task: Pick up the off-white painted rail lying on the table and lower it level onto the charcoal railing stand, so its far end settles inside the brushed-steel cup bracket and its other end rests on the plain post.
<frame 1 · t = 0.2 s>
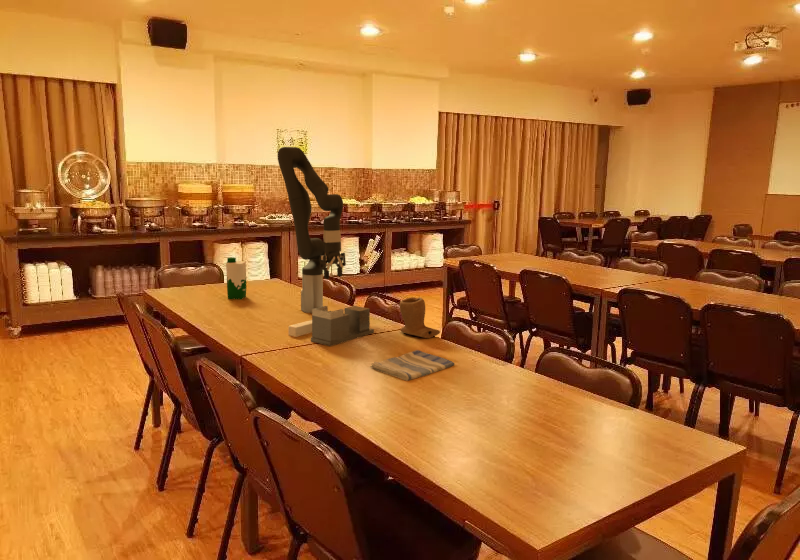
hand: (333, 277, 266), 17 cm above the table, tool pointing down, fingers open, 8 cm apart
dish towel: (412, 369, 202), on the table
rail: (310, 331, 244), on the table
milk carton: (237, 298, 303), on the table
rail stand: (343, 336, 236), on the table
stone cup: (416, 335, 241), on the table
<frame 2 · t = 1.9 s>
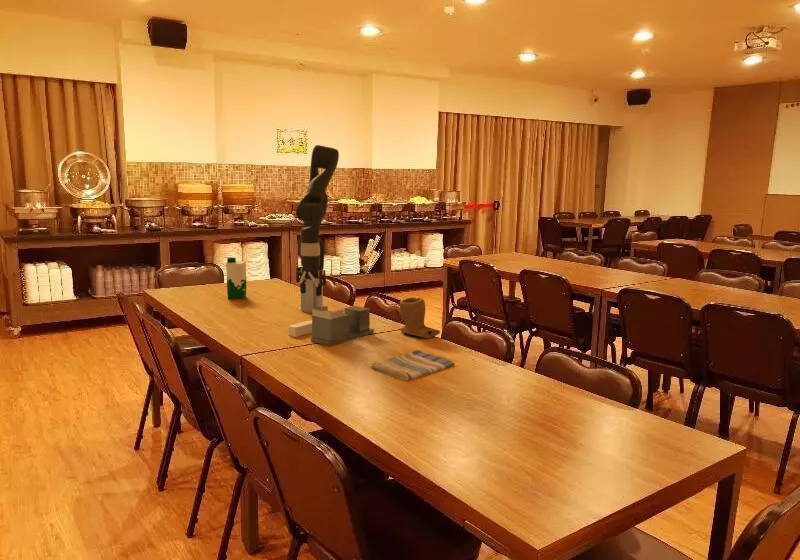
hand: (310, 294, 242), 15 cm above the table, tool pointing down, fingers open, 8 cm apart
nothing on the table moved.
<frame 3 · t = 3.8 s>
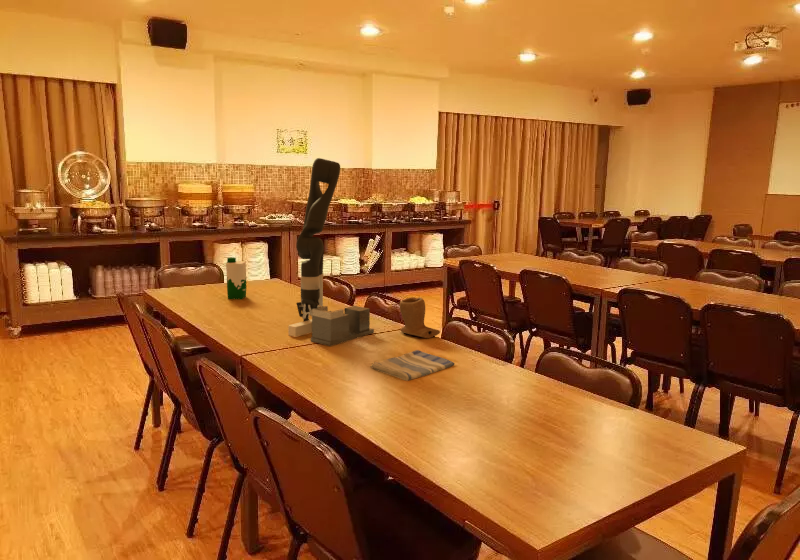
hand: (310, 328, 244), 1 cm above the table, tool pointing down, fingers closed on rail, 4 cm apart
rail: (310, 331, 244), on the table, touching gripper
everything else where it was.
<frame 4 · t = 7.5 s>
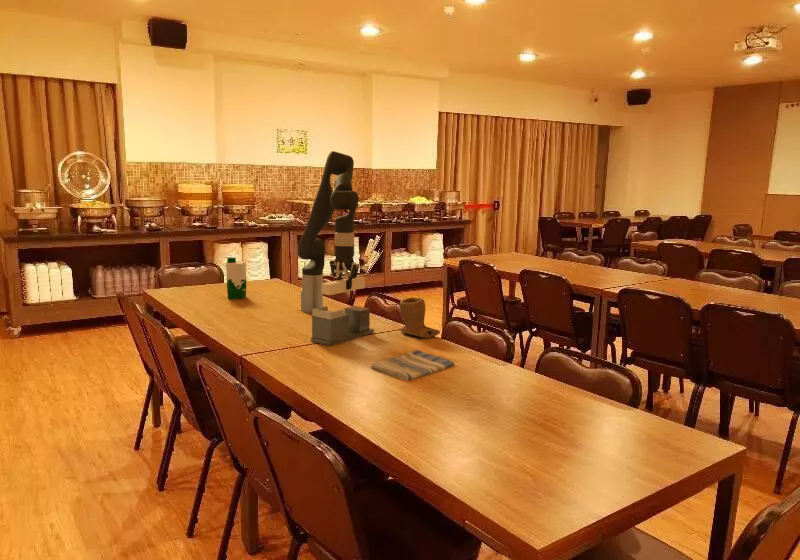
hand: (344, 288, 233), 19 cm above the table, tool pointing down, fingers closed on rail, 4 cm apart
rail: (343, 290, 233), point 18 cm above the table, touching gripper
everything else where it was.
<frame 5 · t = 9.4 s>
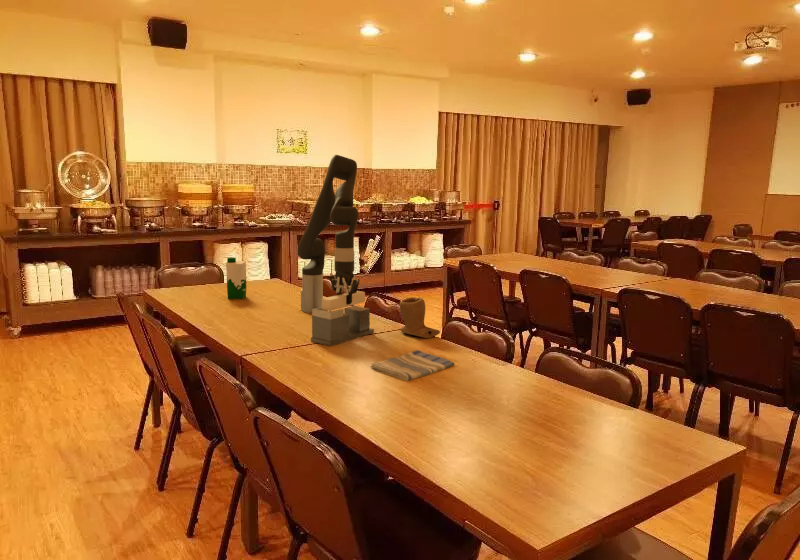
hand: (344, 303, 234), 13 cm above the table, tool pointing down, fingers closed on rail, 4 cm apart
rail: (344, 305, 234), point 12 cm above the table, touching gripper
everything else where it was.
when the fingers open (12 cm above the table, at t = 11.1 s): rail stays where it is, resting on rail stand.
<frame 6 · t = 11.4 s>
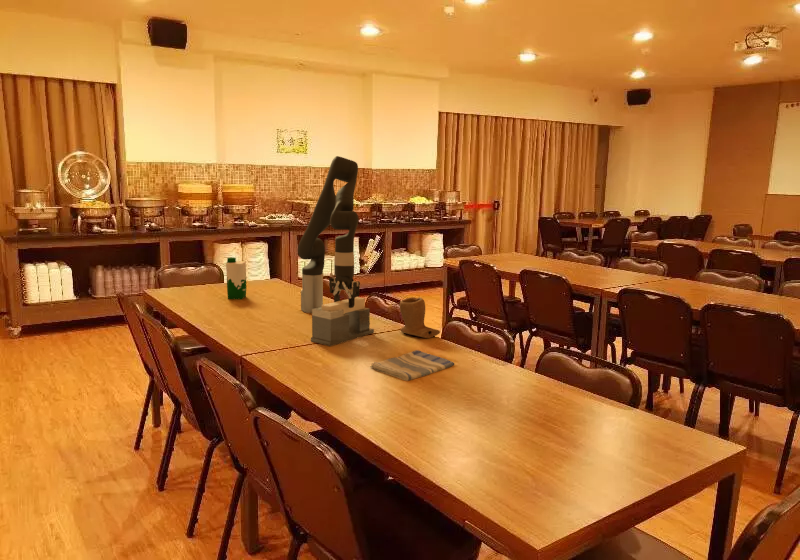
hand: (344, 306, 235), 12 cm above the table, tool pointing down, fingers open, 6 cm apart
rail: (343, 311, 235), point 10 cm above the table, touching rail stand
everything else where it was.
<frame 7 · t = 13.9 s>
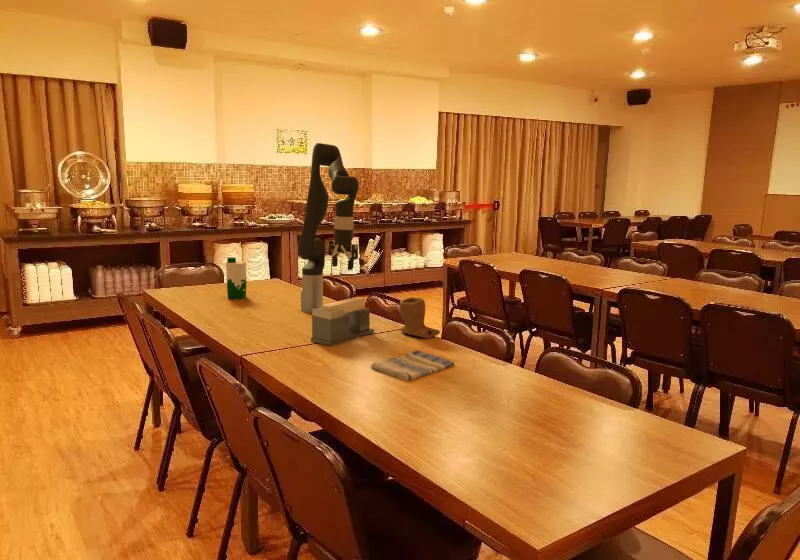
hand: (342, 268, 243), 25 cm above the table, tool pointing down, fingers open, 8 cm apart
nothing on the table moved.
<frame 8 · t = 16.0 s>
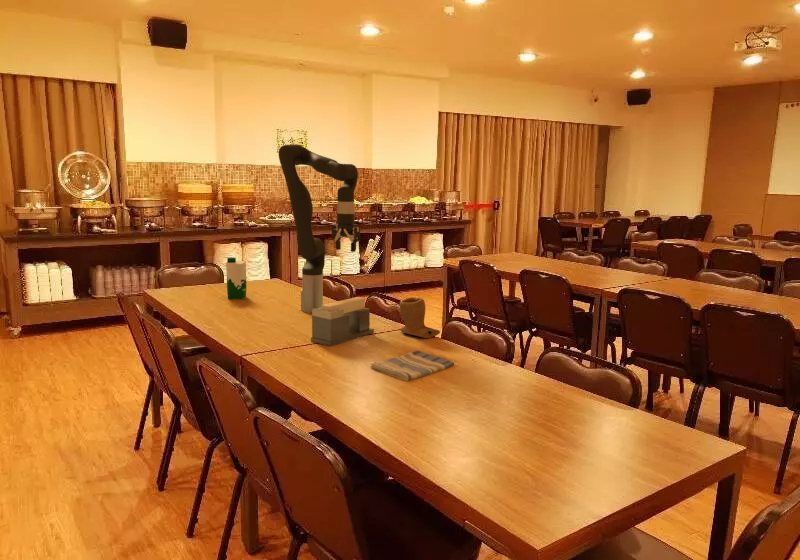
hand: (345, 250, 258), 30 cm above the table, tool pointing down, fingers open, 8 cm apart
nothing on the table moved.
at the end: rail 0.4 cm off-centre on the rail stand, point 10.0 cm above the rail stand's base; rail tilted 0°; the gripper is holding nothing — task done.
